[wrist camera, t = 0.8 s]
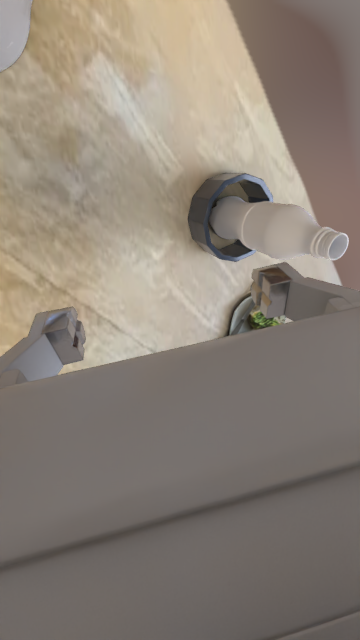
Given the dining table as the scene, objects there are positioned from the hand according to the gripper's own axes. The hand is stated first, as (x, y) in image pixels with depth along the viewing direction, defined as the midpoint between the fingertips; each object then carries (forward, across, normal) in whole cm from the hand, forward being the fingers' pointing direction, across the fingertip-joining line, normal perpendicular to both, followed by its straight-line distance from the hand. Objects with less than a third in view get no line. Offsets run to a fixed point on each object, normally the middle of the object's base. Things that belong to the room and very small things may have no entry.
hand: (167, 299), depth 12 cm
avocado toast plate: (+37, -23, +38) cm, 57 cm away
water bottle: (+38, -15, +11) cm, 43 cm away
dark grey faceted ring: (+38, -15, +11) cm, 43 cm away
